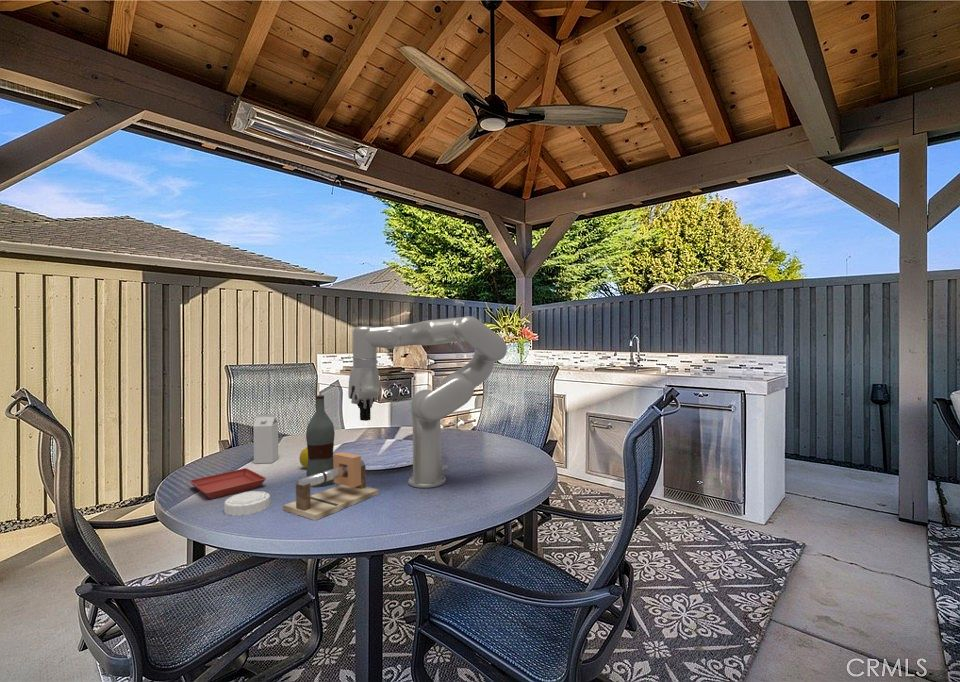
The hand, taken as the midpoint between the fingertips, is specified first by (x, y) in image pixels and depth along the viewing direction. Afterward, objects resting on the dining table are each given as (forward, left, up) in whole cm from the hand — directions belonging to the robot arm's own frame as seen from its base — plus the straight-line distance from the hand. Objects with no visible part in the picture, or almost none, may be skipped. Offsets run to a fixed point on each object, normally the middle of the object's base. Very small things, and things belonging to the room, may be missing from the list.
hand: (365, 420), depth 147 cm
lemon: (-6, -37, -23) cm, 44 cm away
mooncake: (+29, -18, -23) cm, 41 cm away
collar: (+8, 0, -19) cm, 20 cm away
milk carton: (-4, -60, -23) cm, 64 cm away
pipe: (+13, 0, -16) cm, 21 cm away
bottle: (+3, -18, -23) cm, 29 cm away
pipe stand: (+13, 0, -23) cm, 26 cm away
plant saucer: (+22, -41, -23) cm, 52 cm away
